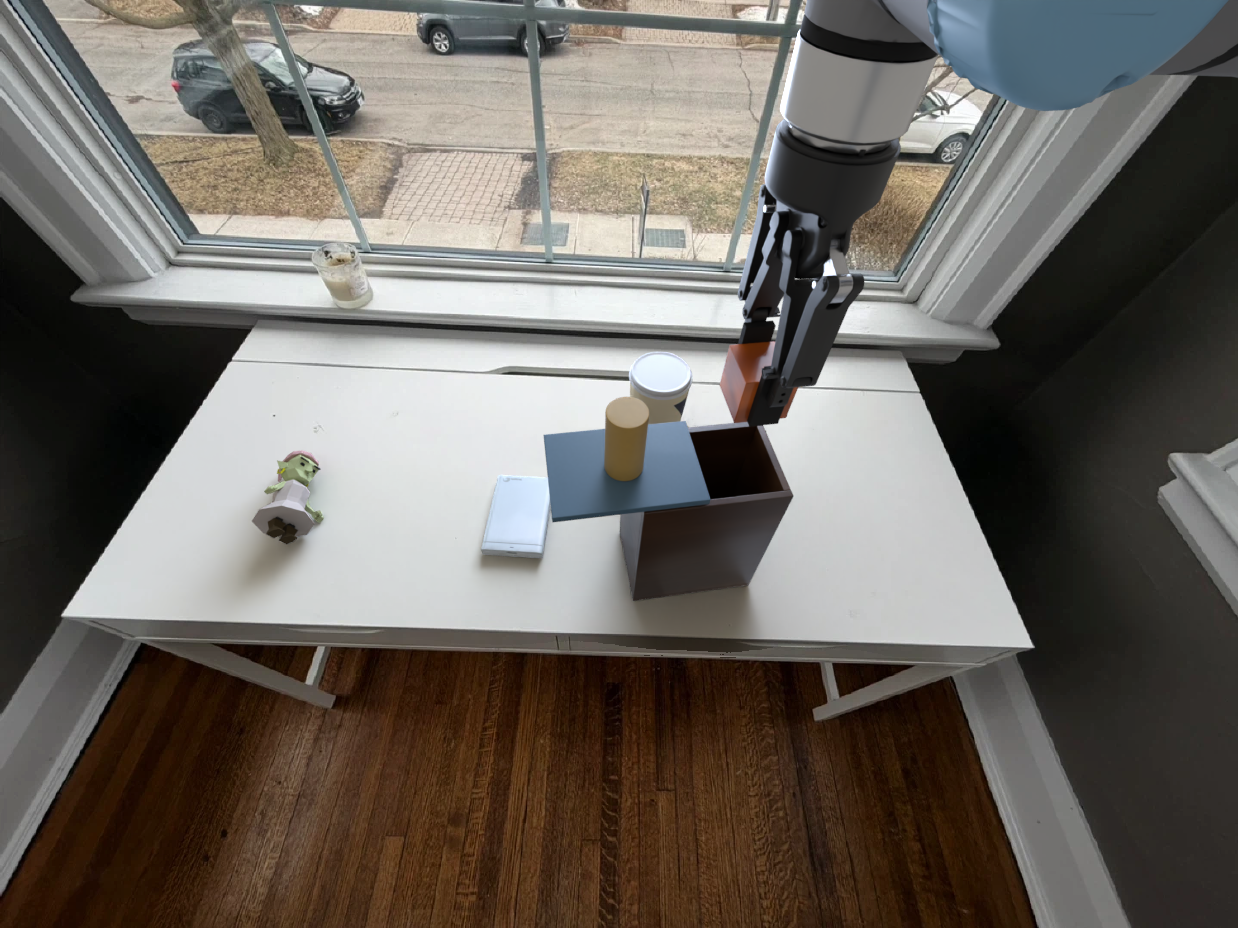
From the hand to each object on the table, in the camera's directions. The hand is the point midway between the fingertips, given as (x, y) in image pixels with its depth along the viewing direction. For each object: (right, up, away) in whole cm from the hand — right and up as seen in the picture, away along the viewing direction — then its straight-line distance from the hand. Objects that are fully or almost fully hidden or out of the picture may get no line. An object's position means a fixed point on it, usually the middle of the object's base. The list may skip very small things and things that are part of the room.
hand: (752, 399), depth 51 cm
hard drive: (-27, -14, +26) cm, 40 cm away
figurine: (-54, -9, +23) cm, 60 cm away
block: (0, 0, 0) cm, 0 cm away
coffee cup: (-7, 0, +38) cm, 38 cm away
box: (-4, -19, +23) cm, 30 cm away
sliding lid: (-12, -7, +5) cm, 15 cm away
